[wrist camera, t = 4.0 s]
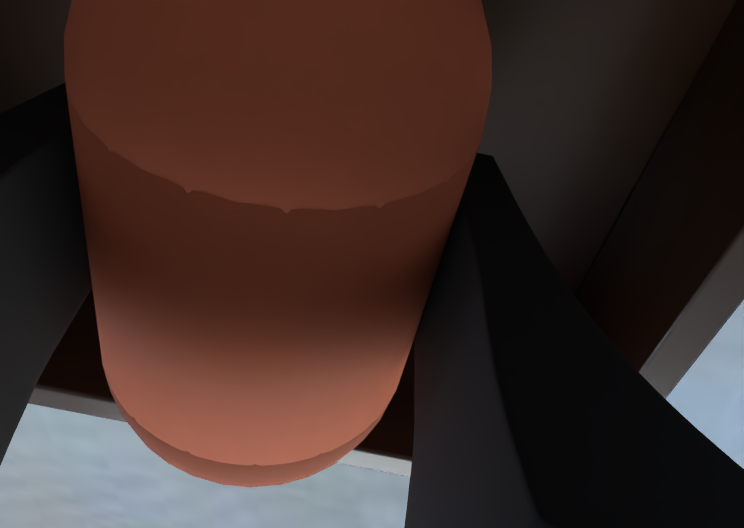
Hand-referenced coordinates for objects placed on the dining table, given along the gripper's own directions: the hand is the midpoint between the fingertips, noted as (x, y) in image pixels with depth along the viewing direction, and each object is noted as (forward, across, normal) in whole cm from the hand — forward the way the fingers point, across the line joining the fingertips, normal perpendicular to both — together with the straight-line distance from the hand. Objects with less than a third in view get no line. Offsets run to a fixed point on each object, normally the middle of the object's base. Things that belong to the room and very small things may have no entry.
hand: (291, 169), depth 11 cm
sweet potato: (+1, 0, 0) cm, 1 cm away
